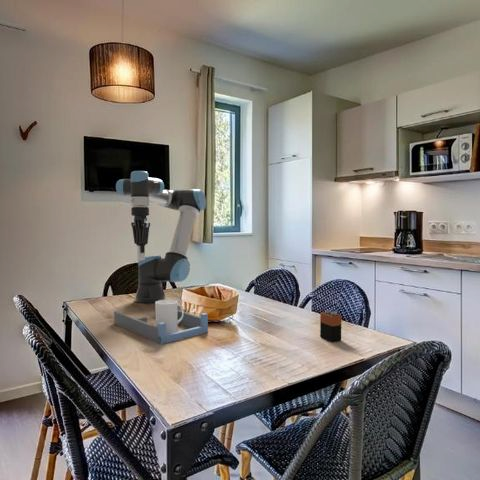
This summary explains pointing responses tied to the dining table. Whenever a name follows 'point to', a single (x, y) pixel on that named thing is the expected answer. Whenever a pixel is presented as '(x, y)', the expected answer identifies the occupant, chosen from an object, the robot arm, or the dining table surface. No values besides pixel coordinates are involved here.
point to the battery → (330, 326)
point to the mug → (168, 314)
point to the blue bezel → (184, 333)
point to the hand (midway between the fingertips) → (141, 260)
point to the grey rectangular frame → (150, 330)
